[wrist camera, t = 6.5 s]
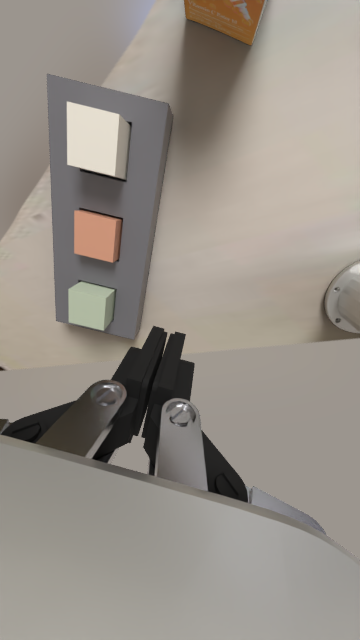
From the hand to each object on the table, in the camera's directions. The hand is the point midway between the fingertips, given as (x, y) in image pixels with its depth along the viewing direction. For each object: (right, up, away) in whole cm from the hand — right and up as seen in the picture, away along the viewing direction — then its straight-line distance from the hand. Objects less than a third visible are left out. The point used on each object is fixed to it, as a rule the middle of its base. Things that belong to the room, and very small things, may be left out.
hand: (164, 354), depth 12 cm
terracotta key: (-10, +15, +24) cm, 30 cm away
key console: (-10, +16, +25) cm, 31 cm away
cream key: (-8, +24, +18) cm, 31 cm away
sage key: (-13, +5, +27) cm, 31 cm away
